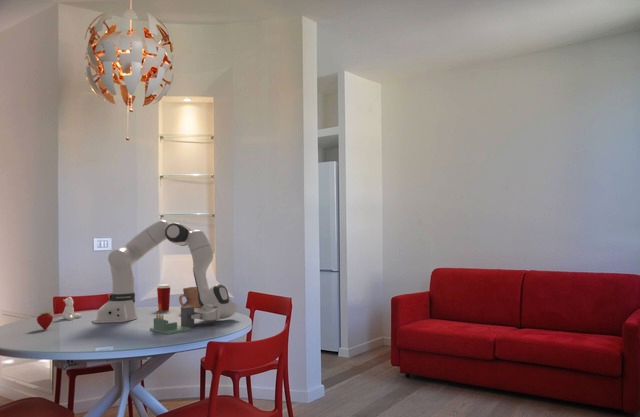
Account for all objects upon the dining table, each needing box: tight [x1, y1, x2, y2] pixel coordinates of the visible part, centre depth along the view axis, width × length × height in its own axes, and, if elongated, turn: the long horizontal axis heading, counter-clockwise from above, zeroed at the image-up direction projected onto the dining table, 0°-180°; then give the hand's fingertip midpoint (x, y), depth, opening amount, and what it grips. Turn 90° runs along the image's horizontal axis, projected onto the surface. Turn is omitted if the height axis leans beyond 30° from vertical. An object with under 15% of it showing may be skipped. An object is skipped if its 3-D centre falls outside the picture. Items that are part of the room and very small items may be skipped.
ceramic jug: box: [178, 286, 202, 309], centre depth 309 cm, size 18×14×14 cm
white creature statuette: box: [61, 296, 82, 321], centre depth 292 cm, size 10×9×12 cm
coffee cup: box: [156, 283, 171, 312], centre depth 317 cm, size 8×8×15 cm
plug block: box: [180, 305, 195, 329], centre depth 263 cm, size 5×5×11 cm
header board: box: [149, 313, 191, 335], centre depth 255 cm, size 12×16×8 cm
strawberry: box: [36, 310, 54, 330], centre depth 262 cm, size 6×8×10 cm
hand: (186, 316), depth 262 cm, fingers open, 7 cm apart
